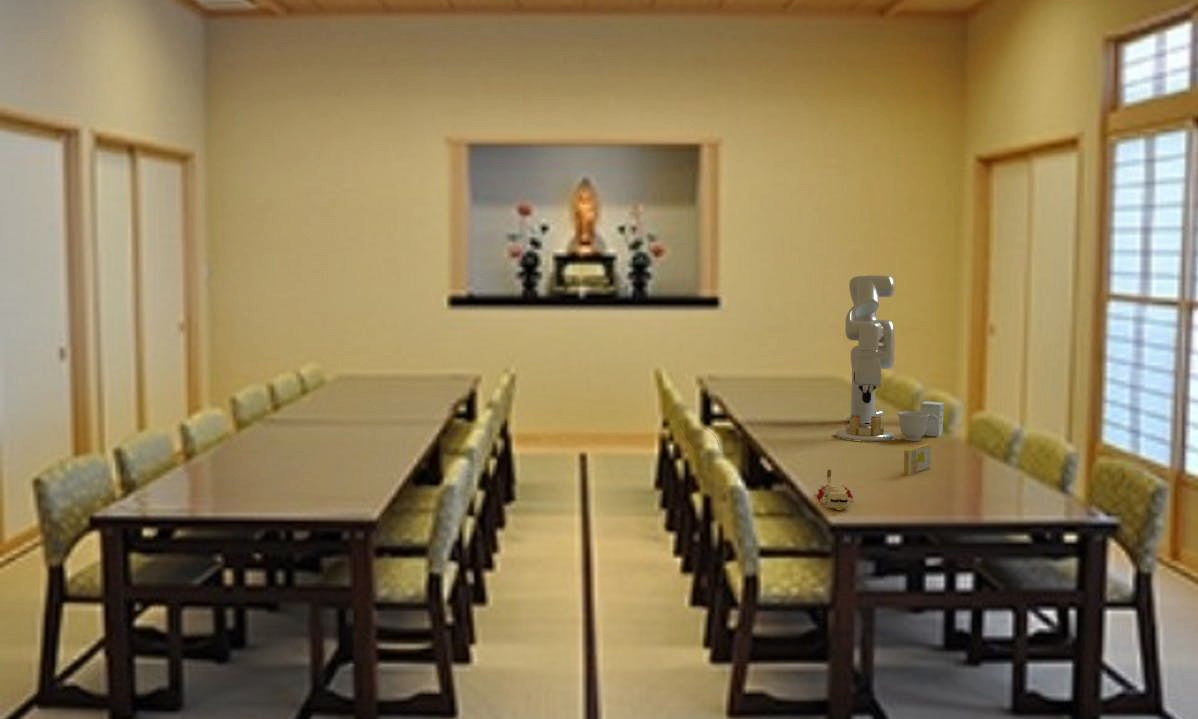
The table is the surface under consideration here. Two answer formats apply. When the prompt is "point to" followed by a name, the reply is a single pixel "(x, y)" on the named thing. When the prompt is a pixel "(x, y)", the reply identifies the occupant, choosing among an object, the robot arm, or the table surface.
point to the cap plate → (883, 437)
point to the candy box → (916, 459)
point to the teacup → (914, 424)
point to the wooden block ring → (875, 425)
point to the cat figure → (834, 495)
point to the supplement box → (933, 409)
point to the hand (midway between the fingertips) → (866, 402)
